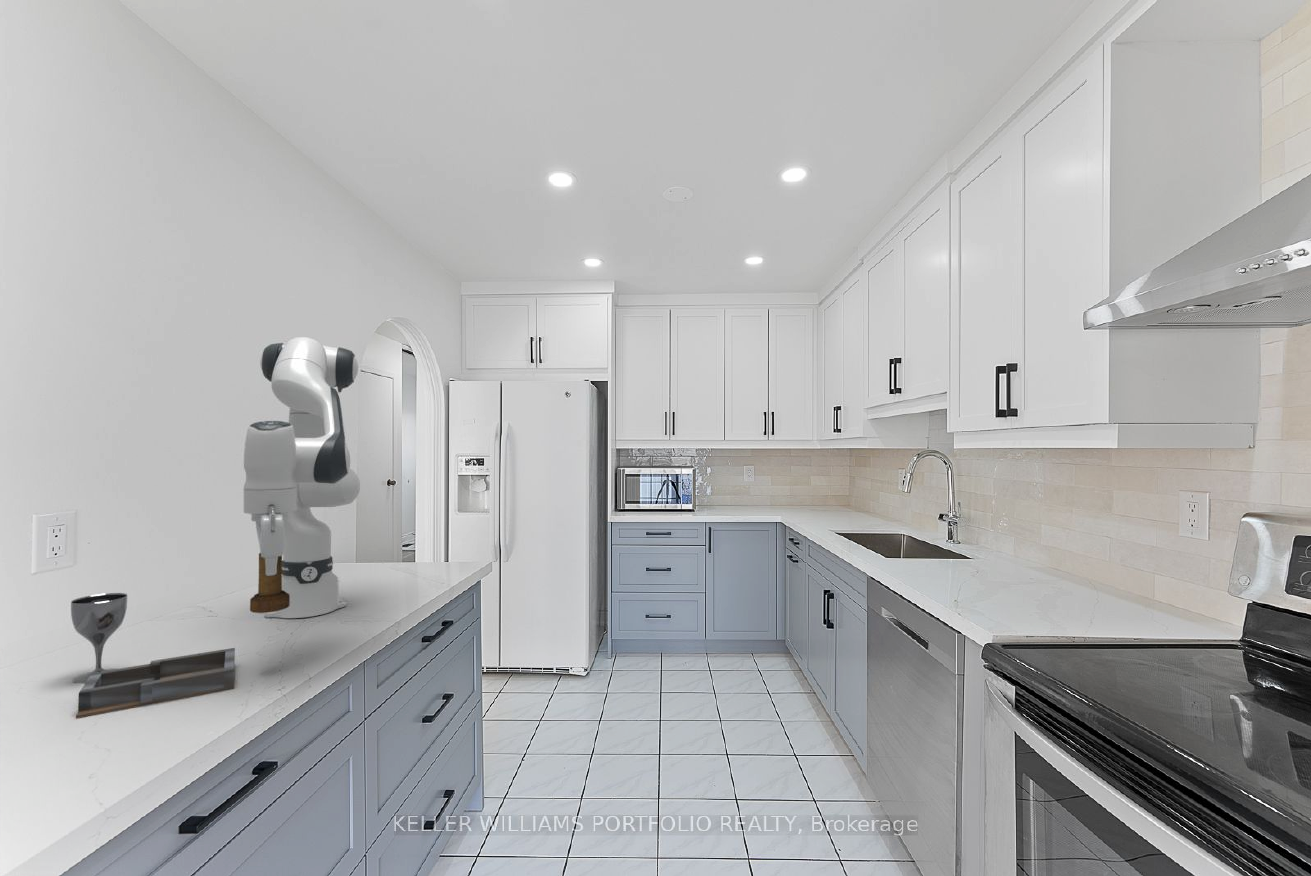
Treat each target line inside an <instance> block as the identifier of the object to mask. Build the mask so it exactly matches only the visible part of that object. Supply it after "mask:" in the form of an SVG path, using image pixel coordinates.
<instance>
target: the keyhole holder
mask: <svg viewBox="0 0 1311 876" xmlns="http://www.w3.org/2000/svg"><path fill="white" fill-rule="evenodd" d="M235 654H236V647H232V648H231V647H230V648H226V649H220V650H213V651H205V652H199V653H192V654H187V655H182V656H181V655H180V656H174V657H167V658H162V659H154V660H151V661H150V663H147V664H146V663H145V664H141V665H134V666H126V667H122V668H117V669H114V670H108V671H102V672H95V673H91V675H90V677H89V678H88V680H87V681H86V683H83V684H84V685H82V686H81V687H82V688H81V689H80V690H79V692H78V700H77V701H78V706H77V707H78V708H77V709H78V711H77V713H76V715H75V719H80V718H85V717H91V716H96V715H102V714H107V713H108V714H109V713H111V712H112V713H113V712H117V711H122V710H123V711H124V710H127V709H133V708H138V707H143V706H149V705H153V704H158V703H165V702H170V701H175V700H180V699H187V698H191V697H195V696H196V695H197V696H201V695H206V694H207V695H208V694H212V693H216V692H221V691H222V690H223V691H227V690H232V689H234V688H235V667H236V666H235V665H236V664H235V663H236V662H235V660H236V658H235V657H236V655H235ZM197 696H196V697H197Z"/></svg>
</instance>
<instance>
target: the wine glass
mask: <svg viewBox="0 0 1311 876" xmlns="http://www.w3.org/2000/svg"><path fill="white" fill-rule="evenodd" d="M127 608H128V594H127V593H125V592H124V593H123V592H111V593H110V592H109V593H108V592H107V593H100V594H93V595H88V596H87V595H86V596H83V597H79V598H75V599H72V600H71V602H70V617H71V621H72V625H73V628H74V630H75V631H76V633H78V635H80V636H82V637H83V638H84V639H85V640H87V641H88V642H89V643H90V644H91V645H92V647H93V649H94V654H95V669H94V670H92V671H89V672H86V673H83V674H79V675H78V676H75V677H74V678H72V682H73V683H75V684H85V683H86V681H87V680H88V678H89V677H90V675H91V673H95V672H102V671H108V670H114V669H118V668H103V667H102V658H103V650H104V647H105V644H106V643H107V641H108V640H109V639H110V637H112V635H113V634H114V633H115V632H116V631H118V629H119V628H120V626H122V624H123V622H124V620H125V617H126V614H127Z"/></svg>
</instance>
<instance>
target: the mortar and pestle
mask: <svg viewBox="0 0 1311 876" xmlns="http://www.w3.org/2000/svg"><path fill="white" fill-rule="evenodd" d="M271 532H272V531H271ZM282 560H283V555H282V556H278V560H277V573H276V574H275V575H270V576H267V575H266V566H265V558H263V557H261V552H259V553H258V586H257V587H258V592H257V593H255V594H254V595H253V596H252V597H250V600H249V603H250V604H249V611H250V612H251V613H257V614H265V613H268V612H274V611H279V610H283V609H286V608H288V607H289V605H290V596H289V594H288V593H286V592H285V591H283V590H282Z"/></svg>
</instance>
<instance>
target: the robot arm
mask: <svg viewBox="0 0 1311 876" xmlns="http://www.w3.org/2000/svg"><path fill="white" fill-rule="evenodd" d="M259 363H260V364H259V365H260V370H261V371H262V372H261V373H262V375H263V377H264V378H265V379H267V381H269V382H270V383H271V384H270V385H271V390H272V393H273V394H274V396H275V398H277V400H278V401H279V402H281V404H283V405H284V406H286V407H288V408H289V413H288V422H286V421H280V420H264V421H256V422H253V423H251V424H250V425H249V426H248V428H247V431H246V436H245V441H244V442H245V443H244V450H243V451H244V452H243V469H244V471H245V482H244V485H243V513H244V514H247V515H248V514H249V515H251V521H252V522H255V528H256V534H257V539H258V544H259V551H260V552H259V553H261V557H263V558H265V566H266V575H267V576H270V575H275V574H276V573H277V560H278V556H282V590H283V591H285V592H286V593H288V594H289V596H290V605H289V607H288V608H286V609H283V610H279V611H274V612H268V613H264V618H280V619H281V618H282V619H300V618H310V617H315V616H316V617H317V616H319V615H325V614H328V613H331V612H334V611H335V610H338V609H340V608H344V607H346V606H347V603H346V601H345V600H342V599H341V598H340V588H339V587H340V584H339V582H340V581H339V576H337V575H336V574H335V573H334V572H333V571H332V570H334V569H333V567H334V566H333V565H334V561H333V557H332V530H331V529H330V527H329V526H328V525H327V524H326V523H324V522H323V521H321V520H319V519H317V518H316V517H315V516H314V515H313V512H312V511H311V508H335V507H336V508H337V507H342V506H346V505H350V504H352V503H353V502H354V501H355V500H356V499H357V498H358V495H359V493H360V490H361V484H360V483H361V482H360V478H359V477H358V475H357V474H356V472H355V471H354V470H353V469H351V468H350V467H351V455H350V451H349V448H348V445H347V442H346V436H345V426H344V420H343V410H342V406H341V400H340V396H339V393H342V391H343V389H346V388H349V387H350V386H351V385H352V384H354V382H355V379H356V377H357V376H358V372H359V363H358V360H357V358H356V355H355V353H354V352H353V351H352V350H350V349H347V348H344V347H334V346H328V345H323V344H322V343H320V342H319V341H318V340H316V339H314V338H311V337H307V336H299V337H294V338H291V339H290V340H288V341H287V342H286V343H285V344H284V343H283V342H279V343H271V344H269V345H267V346H266V347H265V348H264V349H263V352H262V354H261V357H260V362H259ZM336 387H337V389H336ZM271 531H272V532H271Z"/></svg>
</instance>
